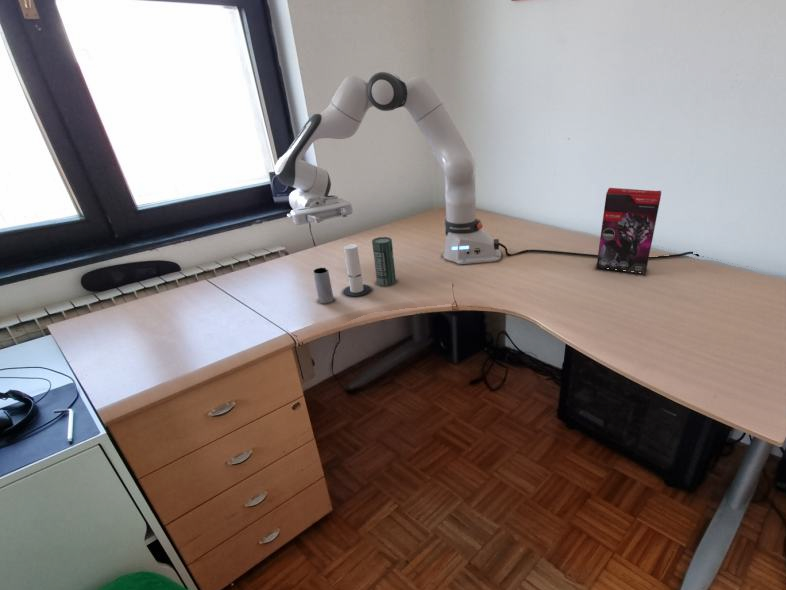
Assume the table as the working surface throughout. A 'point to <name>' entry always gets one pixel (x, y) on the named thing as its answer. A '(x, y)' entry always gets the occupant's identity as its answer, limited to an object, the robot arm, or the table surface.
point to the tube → (353, 268)
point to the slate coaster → (366, 290)
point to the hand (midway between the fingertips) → (331, 217)
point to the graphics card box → (627, 229)
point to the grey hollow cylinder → (323, 285)
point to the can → (384, 261)
